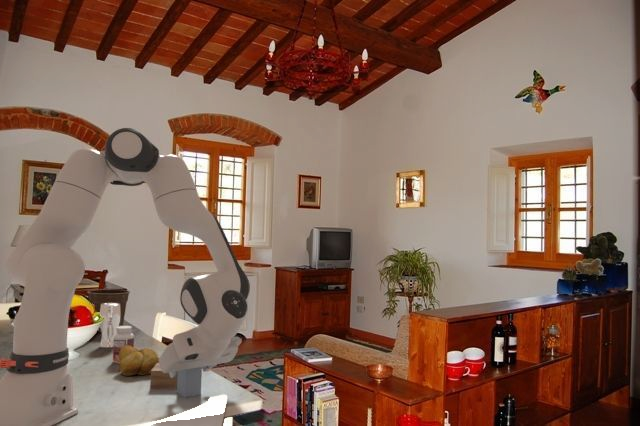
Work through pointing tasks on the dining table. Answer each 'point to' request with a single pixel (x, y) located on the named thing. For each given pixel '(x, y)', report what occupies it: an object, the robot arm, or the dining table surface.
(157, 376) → the walnut block
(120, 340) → the pill bottle
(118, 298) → the plant pot
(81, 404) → the dining table surface
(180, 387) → the slate block
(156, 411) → the dining table surface
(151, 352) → the bread roll
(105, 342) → the beer glass
